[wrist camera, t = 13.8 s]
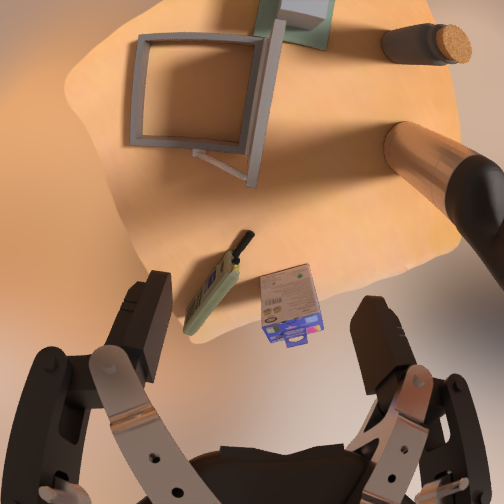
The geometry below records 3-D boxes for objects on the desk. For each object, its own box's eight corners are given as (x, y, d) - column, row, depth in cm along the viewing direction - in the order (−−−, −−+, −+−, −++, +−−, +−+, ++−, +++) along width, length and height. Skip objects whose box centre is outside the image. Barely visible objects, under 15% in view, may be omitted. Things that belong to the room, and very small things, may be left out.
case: (145, 36, 27) (94, 23, 15) (274, 42, 29) (286, 20, 17) (136, 148, 37) (89, 183, 26) (253, 159, 39) (254, 199, 27)
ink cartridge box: (267, 295, 55) (269, 355, 43) (258, 276, 52) (259, 337, 40) (314, 283, 53) (327, 342, 41) (308, 262, 50) (322, 322, 38)
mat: (336, -14, 22) (337, -16, 21) (324, 50, 29) (325, 50, 28) (266, -29, 21) (266, -31, 20) (253, 36, 28) (253, 35, 27)
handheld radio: (184, 308, 58) (243, 223, 46) (197, 313, 59) (259, 232, 47) (179, 332, 53) (243, 247, 40) (194, 337, 54) (261, 256, 42)
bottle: (408, 70, 29) (470, 77, 17) (376, 53, 28) (434, 49, 16) (416, 42, 26) (478, 40, 13) (385, 24, 25) (442, 10, 13)
